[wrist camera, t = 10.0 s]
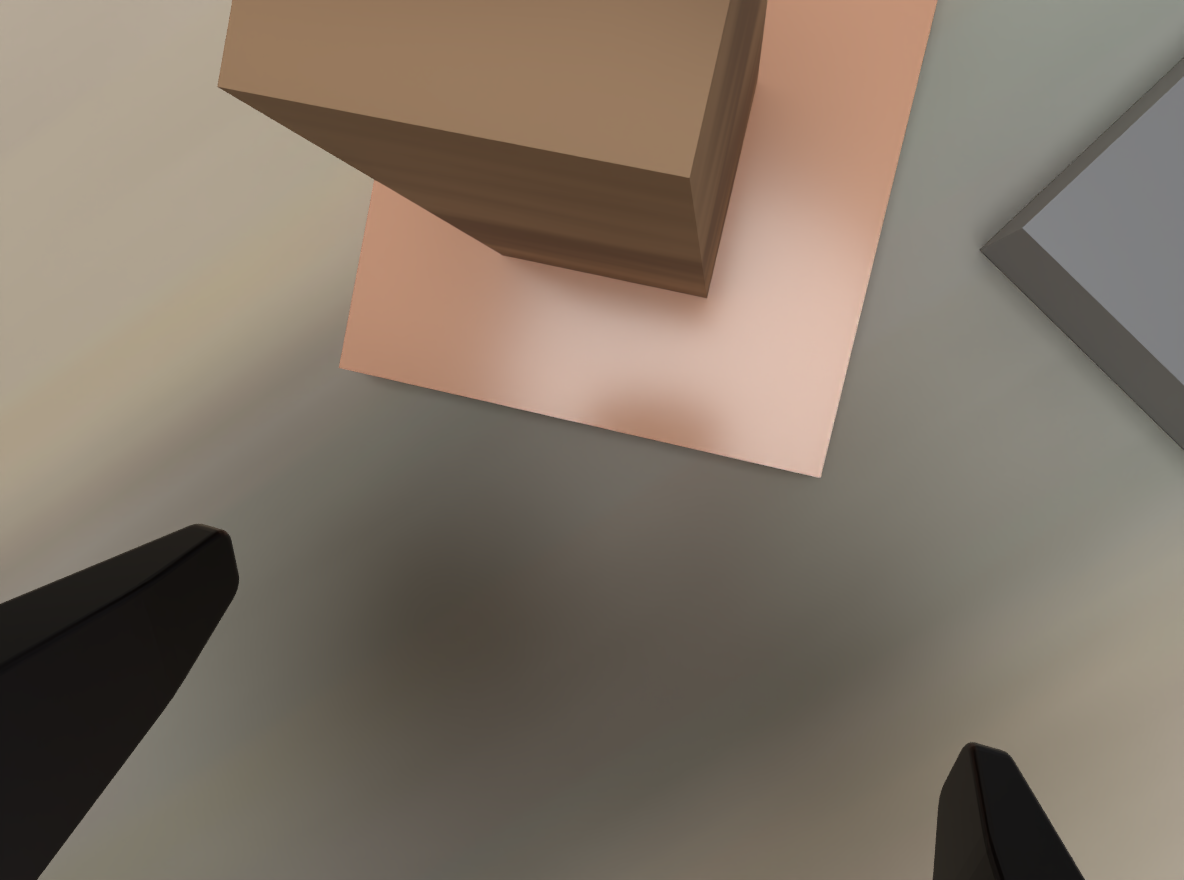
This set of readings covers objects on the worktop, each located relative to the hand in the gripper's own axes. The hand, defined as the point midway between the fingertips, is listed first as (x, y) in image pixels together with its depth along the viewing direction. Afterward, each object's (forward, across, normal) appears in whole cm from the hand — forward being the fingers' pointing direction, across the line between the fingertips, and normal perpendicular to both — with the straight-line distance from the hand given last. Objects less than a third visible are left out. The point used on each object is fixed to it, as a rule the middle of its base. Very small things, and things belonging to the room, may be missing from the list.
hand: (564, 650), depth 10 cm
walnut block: (+13, +3, -2) cm, 13 cm away
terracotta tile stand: (+15, +3, 0) cm, 15 cm away
